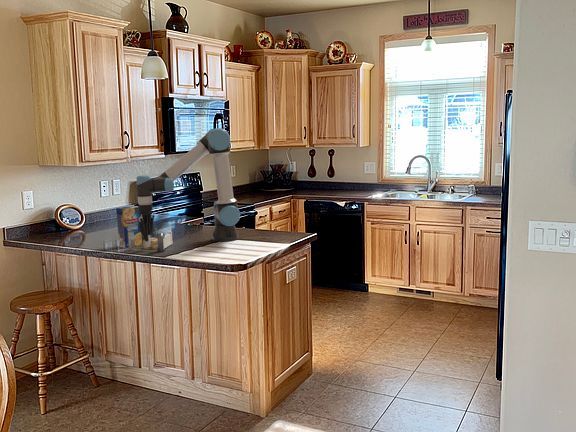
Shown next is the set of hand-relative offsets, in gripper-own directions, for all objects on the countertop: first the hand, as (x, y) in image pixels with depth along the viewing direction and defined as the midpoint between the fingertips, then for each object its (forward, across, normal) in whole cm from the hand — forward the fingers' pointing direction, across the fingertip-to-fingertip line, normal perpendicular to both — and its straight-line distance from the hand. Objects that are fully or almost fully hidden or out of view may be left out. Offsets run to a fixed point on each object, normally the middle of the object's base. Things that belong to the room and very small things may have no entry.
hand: (148, 246), depth 318 cm
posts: (+2, +2, +2) cm, 4 cm away
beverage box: (+2, -8, -17) cm, 19 cm away
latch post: (+2, +2, -9) cm, 9 cm away
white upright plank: (+1, -7, +7) cm, 10 cm away
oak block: (+2, -6, 0) cm, 6 cm away
